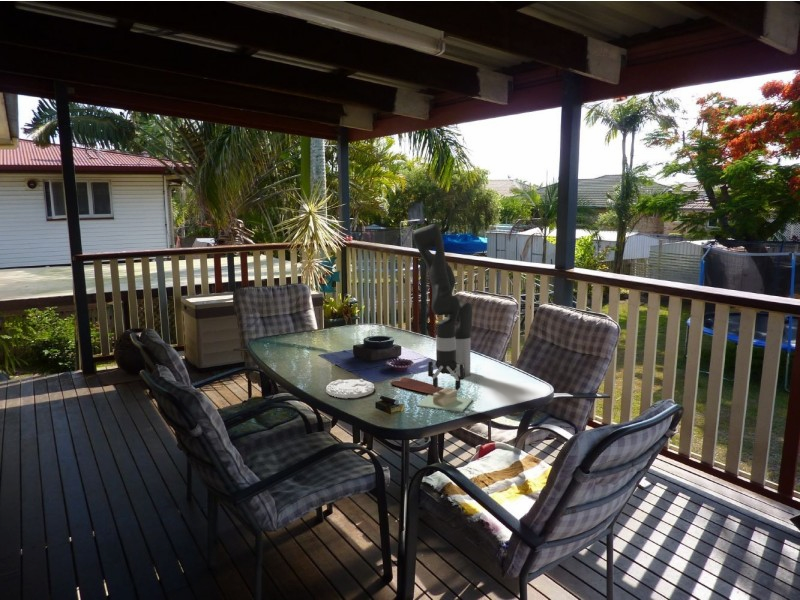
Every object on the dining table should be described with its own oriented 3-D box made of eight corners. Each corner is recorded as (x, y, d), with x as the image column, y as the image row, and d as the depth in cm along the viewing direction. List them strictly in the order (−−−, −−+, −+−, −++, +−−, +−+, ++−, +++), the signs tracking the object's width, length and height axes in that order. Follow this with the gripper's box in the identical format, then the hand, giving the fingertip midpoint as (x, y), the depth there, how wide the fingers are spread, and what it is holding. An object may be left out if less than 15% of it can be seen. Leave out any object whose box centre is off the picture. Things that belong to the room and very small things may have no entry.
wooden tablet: (388, 385, 249) (388, 381, 249) (404, 379, 256) (404, 376, 256) (434, 397, 231) (434, 393, 231) (451, 391, 238) (450, 387, 237)
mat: (429, 395, 235) (429, 393, 235) (472, 400, 229) (472, 398, 228) (417, 406, 223) (417, 405, 223) (462, 412, 216) (462, 410, 216)
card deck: (433, 403, 224) (433, 393, 223) (446, 397, 231) (446, 387, 230) (444, 406, 221) (444, 396, 220) (456, 399, 228) (456, 390, 227)
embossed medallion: (383, 391, 243) (383, 384, 242) (347, 403, 229) (347, 396, 229) (353, 381, 257) (353, 375, 256) (316, 391, 243) (316, 385, 243)
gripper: (425, 348, 221) (426, 389, 224) (461, 351, 216) (461, 393, 219) (431, 344, 228) (432, 383, 231) (466, 346, 223) (467, 387, 225)
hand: (446, 388), depth 225 cm, fingers open, 8 cm apart
